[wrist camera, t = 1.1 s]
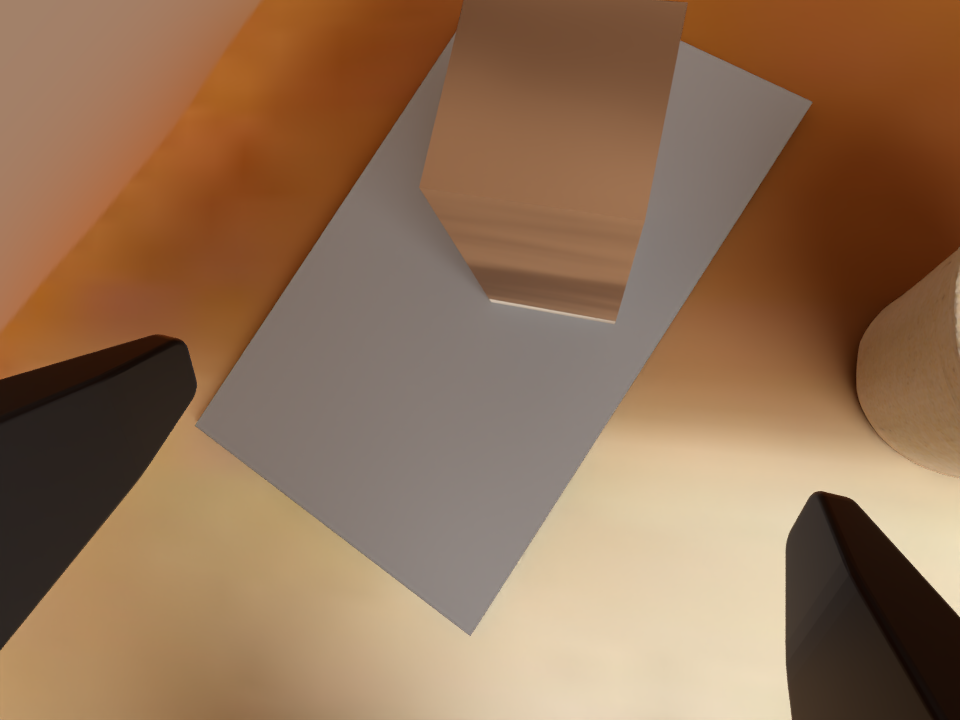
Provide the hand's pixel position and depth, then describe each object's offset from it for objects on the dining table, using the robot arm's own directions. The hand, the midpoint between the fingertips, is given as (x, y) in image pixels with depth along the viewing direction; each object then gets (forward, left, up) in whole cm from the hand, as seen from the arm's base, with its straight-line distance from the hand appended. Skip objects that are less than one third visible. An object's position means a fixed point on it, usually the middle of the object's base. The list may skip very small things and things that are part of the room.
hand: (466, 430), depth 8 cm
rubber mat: (+4, +5, -13) cm, 15 cm away
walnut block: (+6, +3, -13) cm, 15 cm away
